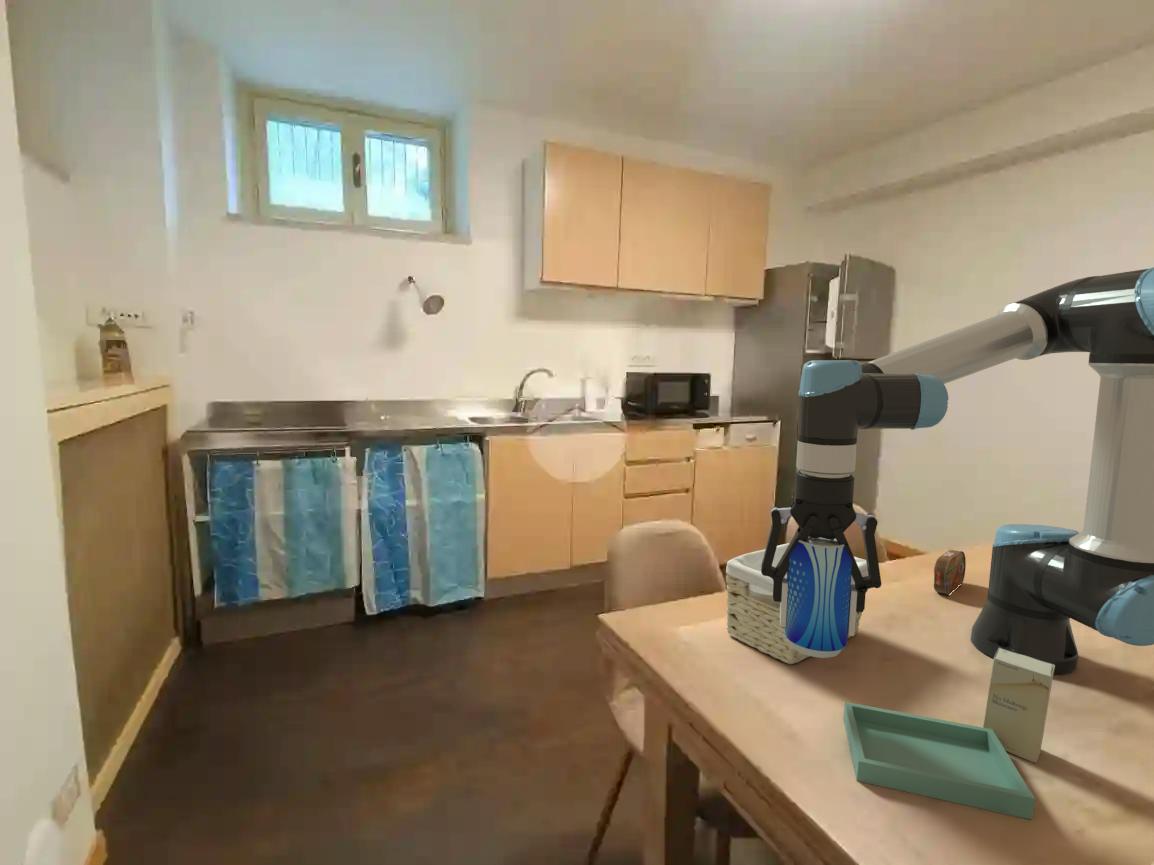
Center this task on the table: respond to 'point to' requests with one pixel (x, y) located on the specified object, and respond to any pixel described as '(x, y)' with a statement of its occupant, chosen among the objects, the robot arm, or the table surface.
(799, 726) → the table surface
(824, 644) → the beer can
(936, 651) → the table surface
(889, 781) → the tray
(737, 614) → the storage basket
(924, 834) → the table surface
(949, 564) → the tin
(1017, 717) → the skincare box
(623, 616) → the table surface
